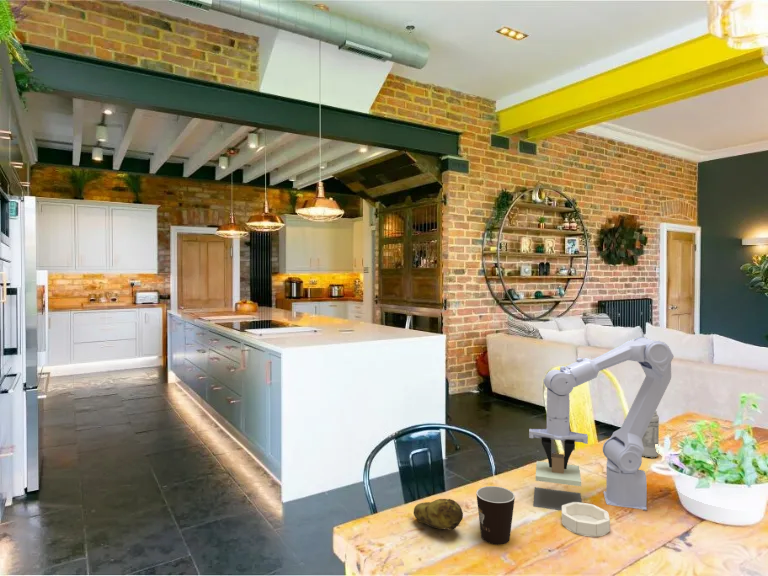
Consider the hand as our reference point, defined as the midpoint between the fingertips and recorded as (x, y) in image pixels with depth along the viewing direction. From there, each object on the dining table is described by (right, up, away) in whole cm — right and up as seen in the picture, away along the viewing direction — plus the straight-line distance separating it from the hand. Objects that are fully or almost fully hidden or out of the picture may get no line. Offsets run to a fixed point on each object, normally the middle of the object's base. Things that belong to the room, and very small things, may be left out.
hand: (557, 466), depth 130 cm
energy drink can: (+42, -8, +33) cm, 54 cm away
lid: (0, -2, 0) cm, 2 cm away
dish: (+2, -10, -13) cm, 16 cm away
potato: (-33, -10, -14) cm, 37 cm away
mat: (0, -9, 0) cm, 9 cm away
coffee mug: (-20, -10, -16) cm, 28 cm away
